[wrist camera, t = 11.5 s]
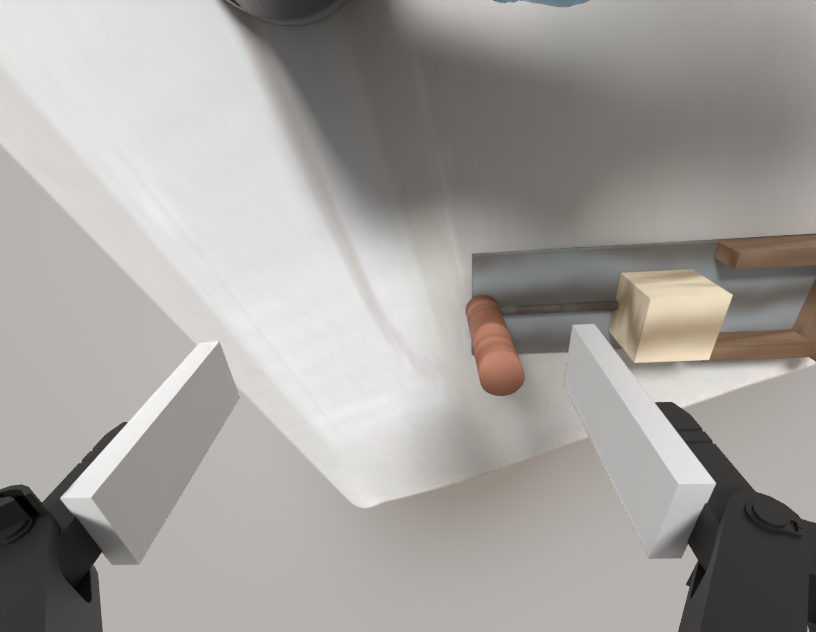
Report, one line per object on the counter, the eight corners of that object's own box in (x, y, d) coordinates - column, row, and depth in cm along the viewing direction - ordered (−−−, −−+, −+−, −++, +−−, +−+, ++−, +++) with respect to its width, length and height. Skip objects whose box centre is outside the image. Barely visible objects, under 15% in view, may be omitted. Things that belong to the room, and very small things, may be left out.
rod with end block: (465, 281, 41) (481, 344, 31) (691, 268, 40) (788, 330, 29) (465, 337, 44) (479, 411, 34) (674, 327, 43) (755, 402, 33)
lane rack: (472, 254, 41) (478, 272, 36) (847, 231, 38) (902, 249, 34) (471, 351, 47) (476, 377, 42) (796, 336, 44) (837, 362, 40)
